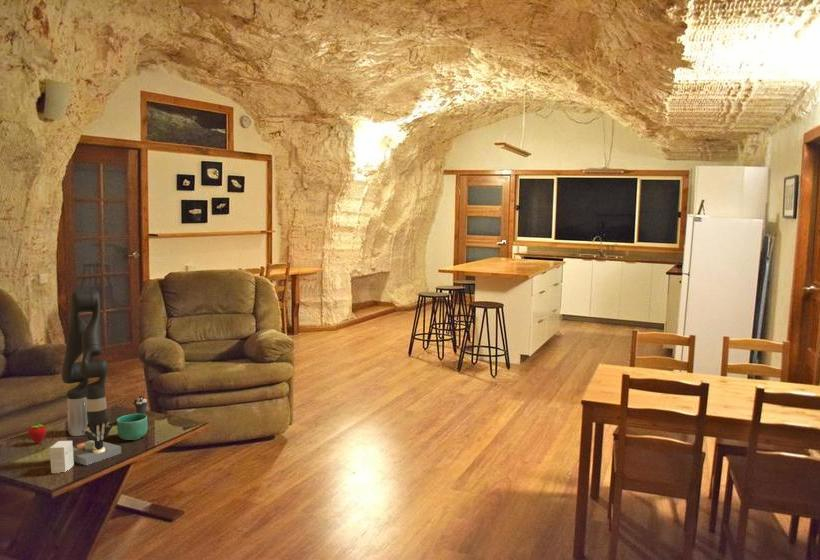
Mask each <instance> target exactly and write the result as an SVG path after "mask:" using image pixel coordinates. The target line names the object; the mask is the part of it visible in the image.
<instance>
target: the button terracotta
mask: <svg viewBox="0 0 820 560" xmlns="http://www.w3.org/2000/svg"><path fill="white" fill-rule="evenodd" d="M84 443H85V442H80V443H77V444H76V446H77V448H78V449H83V448H85V446H84Z"/></svg>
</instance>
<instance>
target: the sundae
mask: <svg viewBox="0 0 820 560" xmlns="http://www.w3.org/2000/svg"><path fill="white" fill-rule="evenodd" d="M145 393H146V391H143V393H142V394H140V395H139V396H137V398H136V399H135V398H133V401H134V402H133V403H132V405H134V407H135V410H136V414H145V415H146V411H147V405H148V403H149V400H147V399H146V396H145Z"/></svg>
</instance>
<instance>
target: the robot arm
mask: <svg viewBox="0 0 820 560" xmlns="http://www.w3.org/2000/svg"><path fill="white" fill-rule="evenodd" d="M69 309H70V310H69V323H68V328H67V335H66V344H65V345H66V346H65V355H64V358H63V363H62V367H61V380H62V382H63V383H65V384H68V385H69V384H76V383H78V384H76V385H75V386H74V387H73V388H71V389H69V390H68V391H67V393H66V399H67V400H66V401H67V416H66V417H67V418H66V419H67V430H68V434H69V436H73V437H77V436H79V437H80V436H85V437H86V438H87V439H88V440H89V441H91V440H93V441H94V442H95V448H96V449H98V450H99V449H102V447H103V442H104V439H105V438H107V437H108V435H109V434H110V431H112V428H113V426H114V423H112V422H109V419H107V418H108V409H107V407H108V405H107V404H108V403H107V399H106V380H107V377H108V372H109V369H110V368H109V363H108V361H106V360H105V359H103V358H102V359H94V358H96V357H99V356H100V355H101V354H102V341H101V295H100V293H99V291H98V290H94V289H93V290H92V289H86V290H85V289H81V290H79V289H77V290H74V291H73V292H72V294H71V297H70V308H69ZM82 312H83V313H86V312H87V313H88V312H92V314H91V319H90V321H89V323H88V325H87V323H86V322H85V321H84V320H83V319H82V317H81V315H80V313H82ZM81 356H82V359H81V361H77V360H78V359H79V358H80V357H81ZM91 359H94V360H91ZM76 361H77V362H76ZM94 378H98V379H97V380H95V381H93V382H90V379H94Z"/></svg>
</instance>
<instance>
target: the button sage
mask: <svg viewBox="0 0 820 560" xmlns="http://www.w3.org/2000/svg"><path fill="white" fill-rule="evenodd" d="M83 443H84V446H85V451H88V452H90V451H92V450H93V449H94V448H95V442H94V441H93V440H87V441H84V442H83Z"/></svg>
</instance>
